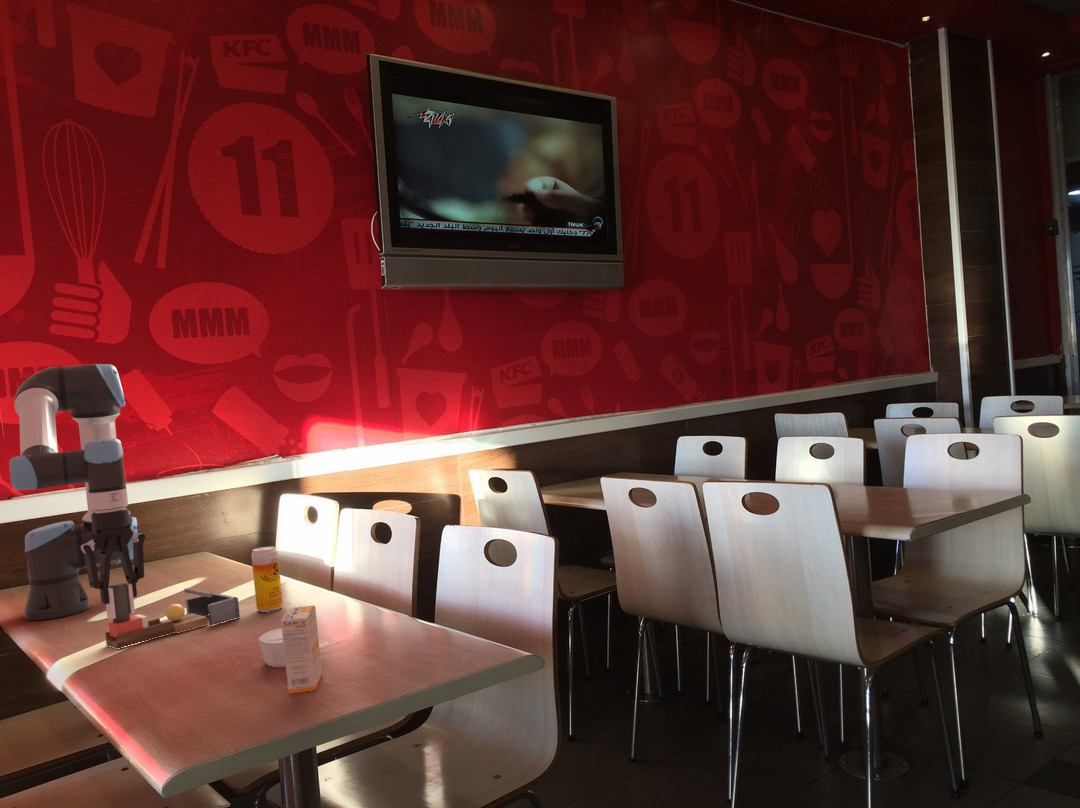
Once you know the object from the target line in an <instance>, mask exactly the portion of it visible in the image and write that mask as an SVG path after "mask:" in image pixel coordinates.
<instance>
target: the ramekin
mask: <svg viewBox="0 0 1080 808" xmlns="http://www.w3.org/2000/svg"><path fill="white" fill-rule="evenodd" d="M258 645H259V646H260V649H261V653H262V657H263V660H264V663H265V664H266V665H267V666H269V667H271V666H272V667H271V668H286V667H285V666H286V663H285V654H284V645H283V635H282V627H281V628H276V629H273V630H270V631H266V632H265V633H263V634H262V635H260V636H259V637H258Z"/></svg>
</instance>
